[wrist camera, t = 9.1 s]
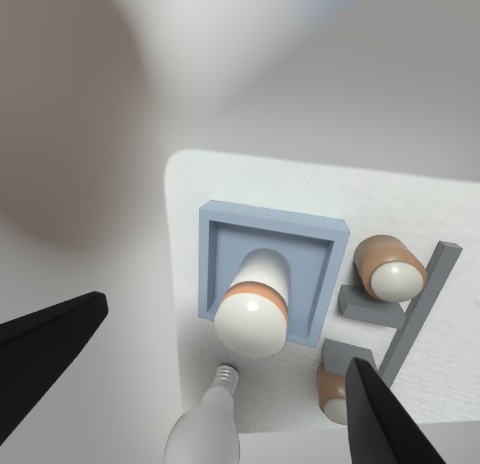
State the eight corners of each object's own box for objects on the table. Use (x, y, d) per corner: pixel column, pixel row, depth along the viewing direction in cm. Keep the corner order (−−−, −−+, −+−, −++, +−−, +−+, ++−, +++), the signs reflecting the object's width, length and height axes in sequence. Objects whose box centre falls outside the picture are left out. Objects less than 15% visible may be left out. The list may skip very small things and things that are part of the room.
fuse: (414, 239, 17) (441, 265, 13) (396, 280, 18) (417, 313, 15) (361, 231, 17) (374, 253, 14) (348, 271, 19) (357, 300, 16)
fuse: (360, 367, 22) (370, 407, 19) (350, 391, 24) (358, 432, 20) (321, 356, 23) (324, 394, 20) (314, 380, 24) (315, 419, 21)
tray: (344, 219, 17) (350, 232, 15) (314, 325, 22) (316, 347, 19) (211, 199, 19) (199, 208, 17) (208, 300, 24) (198, 317, 21)
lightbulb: (241, 344, 25) (200, 480, 15) (265, 386, 26) (242, 535, 17) (194, 352, 27) (132, 474, 17) (218, 389, 29) (174, 522, 19)
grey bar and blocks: (455, 243, 16) (480, 260, 14) (376, 400, 23) (384, 429, 21) (359, 228, 17) (367, 242, 15) (311, 382, 24) (312, 407, 22)
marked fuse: (296, 253, 19) (292, 311, 13) (287, 297, 21) (279, 367, 14) (242, 243, 20) (214, 293, 13) (238, 286, 21) (211, 348, 15)
